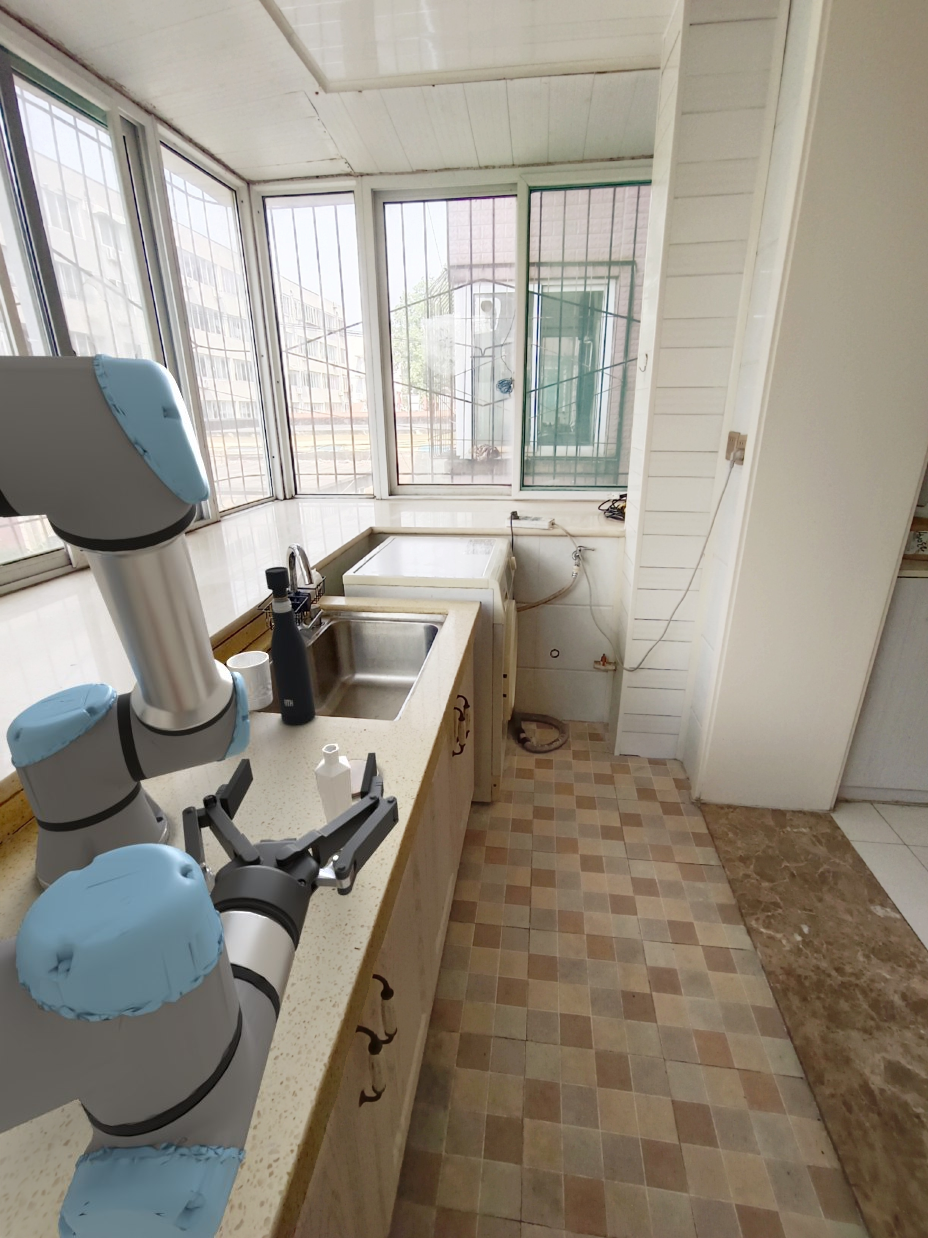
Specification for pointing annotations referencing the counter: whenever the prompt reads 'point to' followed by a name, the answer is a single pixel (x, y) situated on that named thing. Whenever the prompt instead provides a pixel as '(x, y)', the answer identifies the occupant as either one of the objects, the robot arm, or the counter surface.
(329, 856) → the robot arm
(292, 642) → the black water bottle
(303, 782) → the counter surface
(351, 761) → the coaster
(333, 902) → the counter surface
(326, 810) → the perfume bottle
